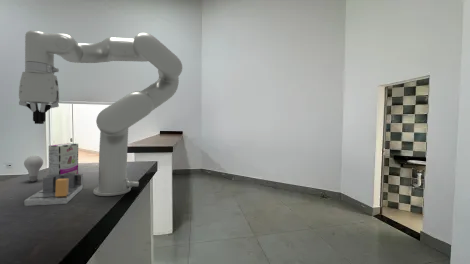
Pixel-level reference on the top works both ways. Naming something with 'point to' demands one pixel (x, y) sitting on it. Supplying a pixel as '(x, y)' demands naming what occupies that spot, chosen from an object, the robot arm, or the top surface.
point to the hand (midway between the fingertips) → (39, 123)
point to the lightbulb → (33, 166)
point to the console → (49, 190)
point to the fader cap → (62, 187)
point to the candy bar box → (63, 158)
